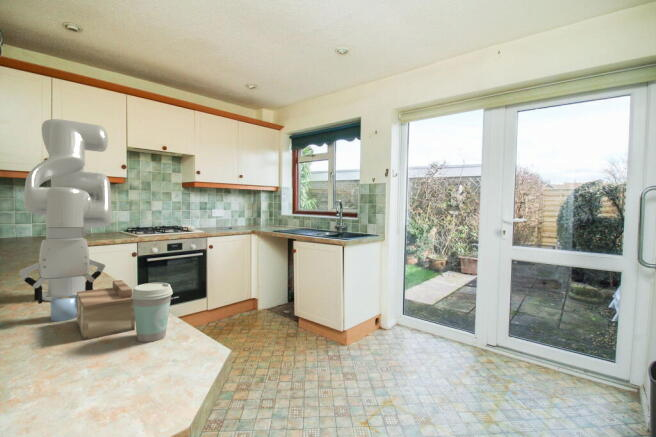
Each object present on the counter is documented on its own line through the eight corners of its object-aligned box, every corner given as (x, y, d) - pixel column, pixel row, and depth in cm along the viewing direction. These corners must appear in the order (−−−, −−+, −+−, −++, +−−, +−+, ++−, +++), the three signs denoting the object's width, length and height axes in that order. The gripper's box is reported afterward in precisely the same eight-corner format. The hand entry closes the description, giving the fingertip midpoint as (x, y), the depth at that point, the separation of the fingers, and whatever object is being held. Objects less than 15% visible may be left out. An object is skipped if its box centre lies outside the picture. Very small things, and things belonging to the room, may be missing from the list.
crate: (76, 322, 81) (77, 295, 81) (122, 314, 88) (122, 289, 87) (83, 340, 71) (84, 309, 70) (134, 329, 78) (135, 301, 77)
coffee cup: (154, 346, 69) (155, 292, 68) (121, 342, 71) (121, 289, 70) (179, 332, 77) (180, 283, 77) (149, 328, 79) (150, 280, 79)
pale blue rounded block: (50, 317, 84) (50, 296, 84) (76, 312, 88) (77, 293, 88) (51, 323, 80) (51, 301, 80) (79, 318, 84) (79, 297, 84)
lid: (76, 294, 81) (76, 284, 81) (122, 289, 88) (122, 279, 88) (84, 309, 70) (84, 297, 70) (135, 301, 77) (135, 290, 77)
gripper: (102, 233, 91) (102, 291, 91) (19, 234, 79) (19, 302, 80) (107, 234, 86) (107, 296, 86) (18, 236, 74) (18, 308, 74)
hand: (64, 299), depth 83 cm, fingers open, 9 cm apart
